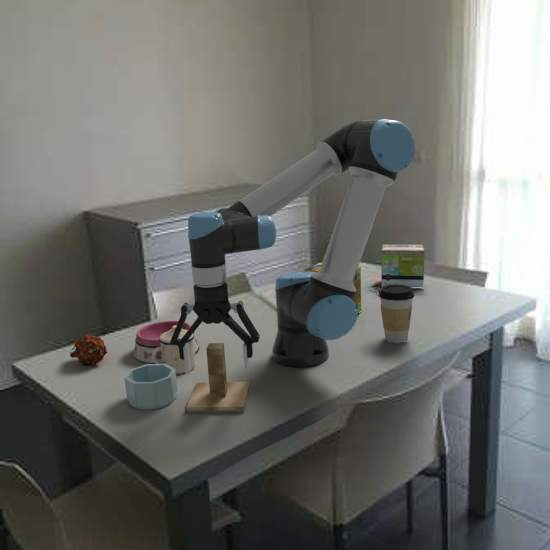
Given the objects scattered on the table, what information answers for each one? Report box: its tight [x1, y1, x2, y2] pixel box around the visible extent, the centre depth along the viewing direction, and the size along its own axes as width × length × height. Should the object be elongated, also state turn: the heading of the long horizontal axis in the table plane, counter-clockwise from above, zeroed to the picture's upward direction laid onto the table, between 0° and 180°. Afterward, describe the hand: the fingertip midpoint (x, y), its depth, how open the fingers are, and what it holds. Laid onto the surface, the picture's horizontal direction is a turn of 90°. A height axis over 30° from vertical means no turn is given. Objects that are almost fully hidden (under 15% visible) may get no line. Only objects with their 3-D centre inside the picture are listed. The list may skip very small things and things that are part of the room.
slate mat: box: [185, 386, 251, 414], centre depth 144 cm, size 13×13×1 cm
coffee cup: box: [378, 285, 415, 344], centre depth 174 cm, size 10×10×15 cm
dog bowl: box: [132, 320, 200, 365], centre depth 174 cm, size 18×19×7 cm
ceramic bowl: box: [124, 363, 178, 410], centre depth 145 cm, size 11×11×6 cm
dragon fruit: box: [69, 334, 108, 366], centre depth 169 cm, size 8×8×12 cm
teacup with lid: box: [152, 325, 197, 375], centre depth 161 cm, size 12×9×12 cm
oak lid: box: [185, 342, 251, 412], centre depth 142 cm, size 13×13×13 cm
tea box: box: [380, 244, 425, 288], centre depth 225 cm, size 15×10×15 cm
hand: (217, 371), depth 142 cm, fingers open, 13 cm apart
